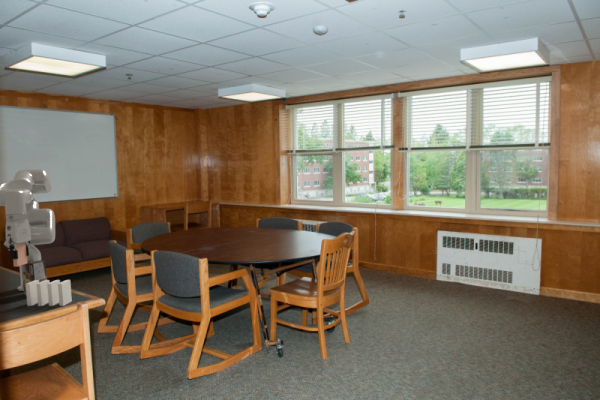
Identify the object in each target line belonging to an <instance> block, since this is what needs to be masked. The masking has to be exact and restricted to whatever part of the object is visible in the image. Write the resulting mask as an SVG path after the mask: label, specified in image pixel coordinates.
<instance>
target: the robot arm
mask: <svg viewBox="0 0 600 400" xmlns="http://www.w3.org/2000/svg"><path fill="white" fill-rule="evenodd" d="M51 191H52V181H51V179H50V176H49V173H47V171H46V170H44V169H42V168H36V169H35V168H34V169H33V168H32V169H20V170H18V171H17V172H16V173H15V174H14V177H13V179H12V180H9V181H7V182H3V183H2V184H0V207H5V210H4V211H5V218H6V219H5V221H6V222H5V241H4V243H3V245H4V246H5V247H6V248H7V250H8V251H9V257H10V260H13V259H18V251H17V250H16V248H17V244H20V243H24V242H25V243H26V254H27V261H30V260H41V261H42V255H41V254H42V253H41V251H40V250H39V249H38V247H36V246H37V245H47V244H48V245H49V244H52V243H53V242H54V241H55V239H56V216H55V212H54V211H53V209H51V208H40V204H39V201H38V200H37V199H35V198H34V195H36V194H37V195H38V194H48V193H50V192H51ZM12 245H14V247H13V246H12ZM18 267H19V274H20V275H19V277H20V285H18V287H17V291H20V292H24V287H23V277H22V266H18Z"/></svg>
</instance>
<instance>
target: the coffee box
mask: <svg viewBox="0 0 600 400" xmlns="http://www.w3.org/2000/svg"><path fill="white" fill-rule="evenodd" d="M21 266H22V277H23V287H24V291H23V293H24V295H25V296H27V294H26V284H27V283H29V282H32V281H34V280H39V283H40V282H42V281H45V280H48V279H47V270H46V269H47V268H46V261H45V260H42V259H41V260H30V261H27V264H24V265H21Z"/></svg>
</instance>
